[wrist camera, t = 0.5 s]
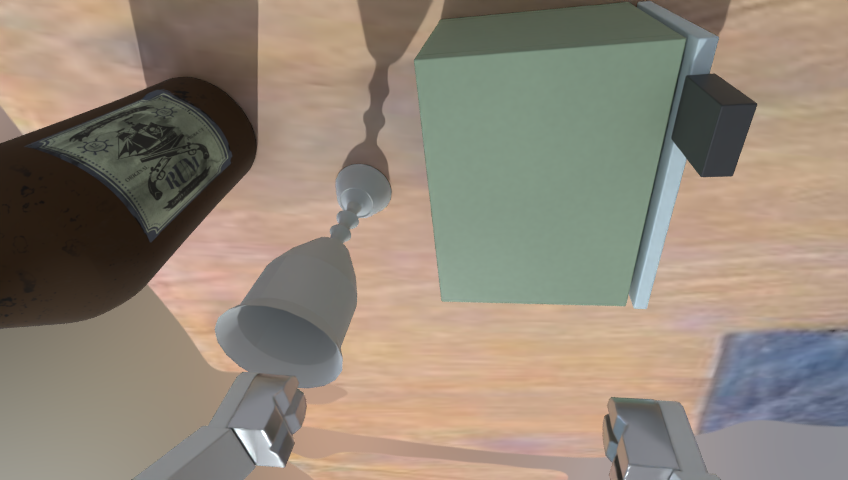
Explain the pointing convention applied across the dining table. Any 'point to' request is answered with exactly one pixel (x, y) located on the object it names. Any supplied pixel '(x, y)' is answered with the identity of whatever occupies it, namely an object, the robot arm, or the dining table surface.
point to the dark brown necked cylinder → (112, 197)
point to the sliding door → (689, 139)
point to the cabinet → (544, 149)
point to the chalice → (305, 295)
